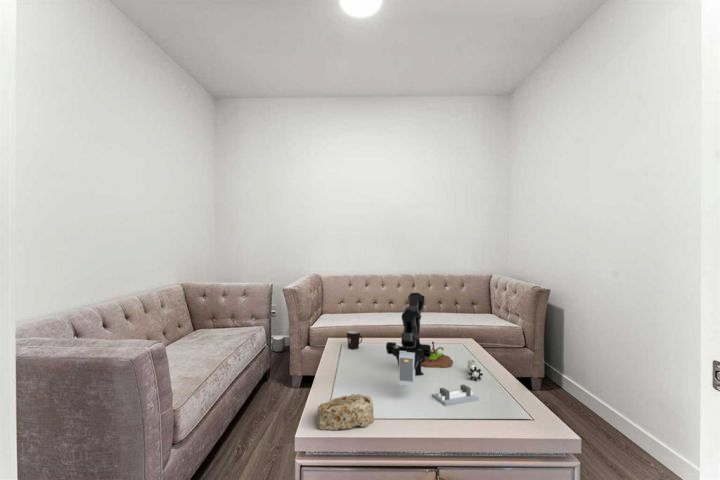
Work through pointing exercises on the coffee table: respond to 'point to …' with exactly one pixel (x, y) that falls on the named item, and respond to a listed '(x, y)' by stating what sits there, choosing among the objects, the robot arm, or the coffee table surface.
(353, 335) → the coffee mug
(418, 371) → the robot arm
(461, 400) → the rail
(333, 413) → the rock
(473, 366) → the valve
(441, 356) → the plant
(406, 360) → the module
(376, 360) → the coffee table surface
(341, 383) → the coffee table surface
